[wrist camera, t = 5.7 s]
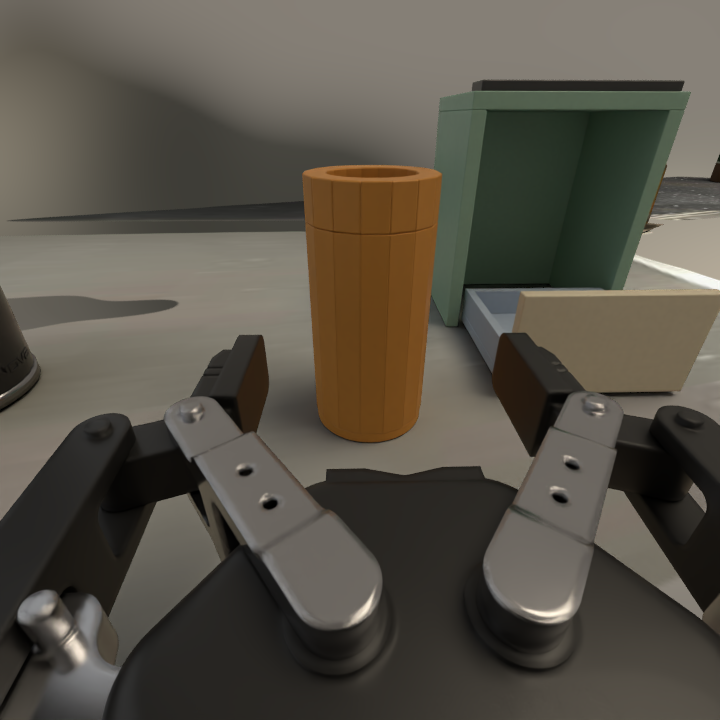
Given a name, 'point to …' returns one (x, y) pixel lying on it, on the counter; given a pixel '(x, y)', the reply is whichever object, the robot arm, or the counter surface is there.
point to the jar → (370, 293)
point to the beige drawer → (600, 331)
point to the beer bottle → (716, 172)
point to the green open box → (548, 181)
